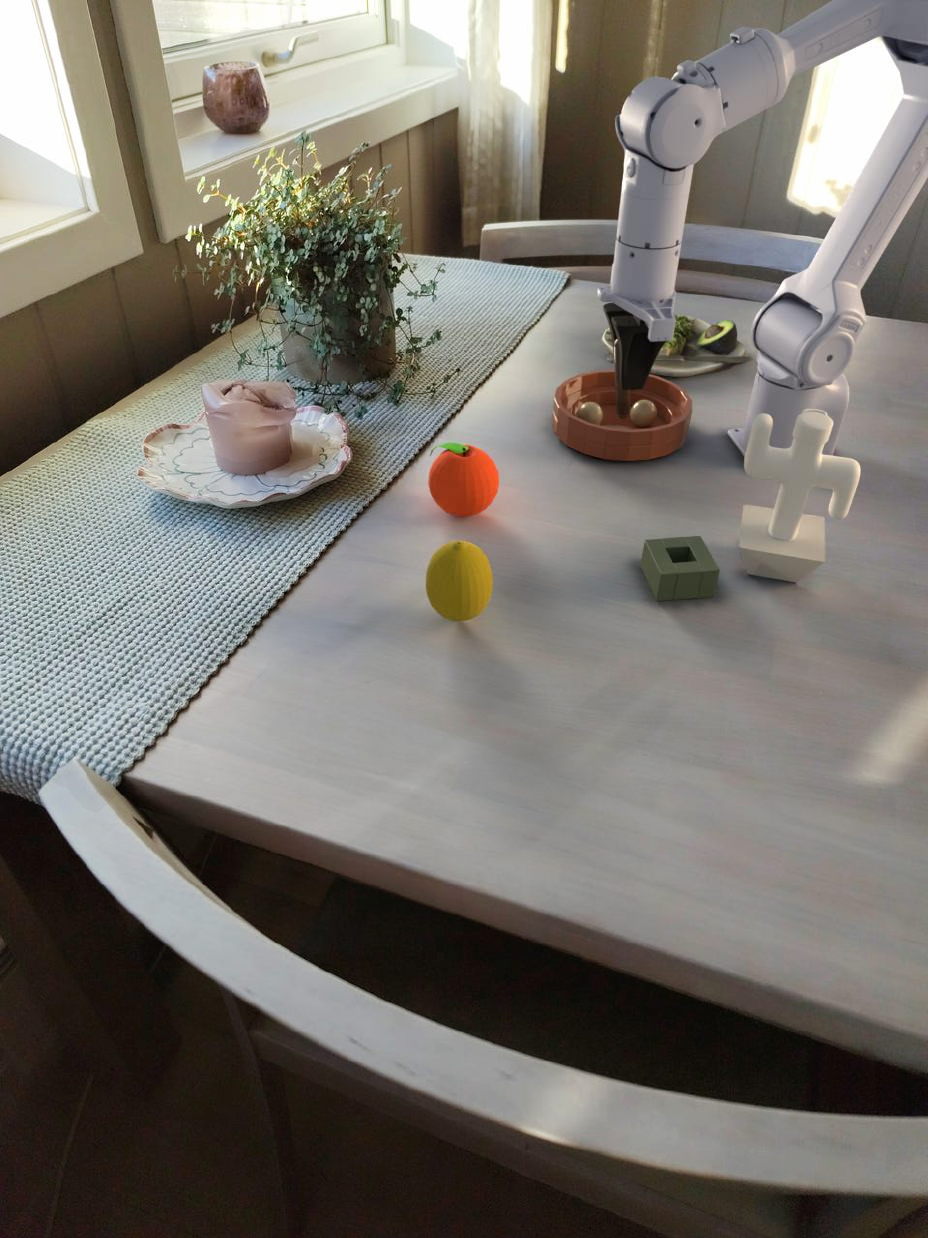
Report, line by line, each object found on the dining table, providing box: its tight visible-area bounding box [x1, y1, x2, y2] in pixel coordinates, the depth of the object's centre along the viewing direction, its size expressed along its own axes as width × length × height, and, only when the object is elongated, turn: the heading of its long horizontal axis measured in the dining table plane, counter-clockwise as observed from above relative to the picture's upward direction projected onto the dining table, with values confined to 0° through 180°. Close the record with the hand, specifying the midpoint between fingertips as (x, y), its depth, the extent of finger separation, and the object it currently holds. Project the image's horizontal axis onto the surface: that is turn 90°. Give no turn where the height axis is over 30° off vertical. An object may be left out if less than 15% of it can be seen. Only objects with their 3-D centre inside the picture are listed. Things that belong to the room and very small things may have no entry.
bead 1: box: [576, 402, 603, 425], centre depth 98 cm, size 3×3×3 cm
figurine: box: [738, 409, 861, 584], centre depth 75 cm, size 7×9×15 cm
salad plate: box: [600, 314, 754, 378], centre depth 113 cm, size 19×18×5 cm
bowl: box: [551, 369, 693, 462], centre depth 98 cm, size 15×15×4 cm
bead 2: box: [630, 400, 657, 427], centre depth 98 cm, size 3×3×3 cm
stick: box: [614, 340, 630, 419], centre depth 85 cm, size 1×1×8 cm
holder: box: [640, 535, 721, 602], centre depth 77 cm, size 5×5×3 cm
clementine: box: [427, 442, 500, 518], centre depth 85 cm, size 8×7×7 cm
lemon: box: [425, 540, 494, 622], centre depth 71 cm, size 6×6×8 cm
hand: (629, 383), depth 85 cm, fingers closed on stick, 1 cm apart
